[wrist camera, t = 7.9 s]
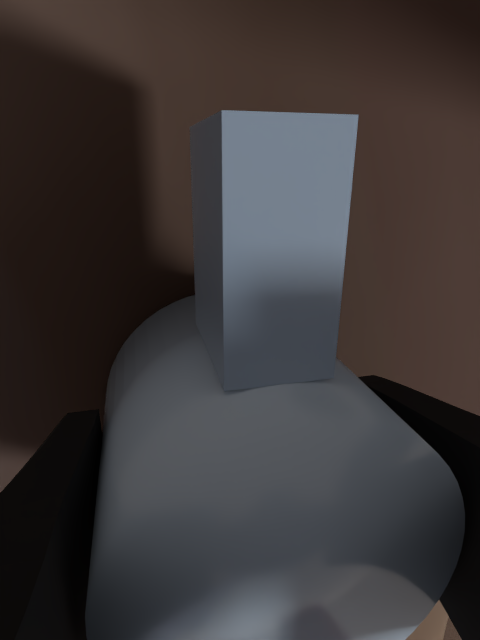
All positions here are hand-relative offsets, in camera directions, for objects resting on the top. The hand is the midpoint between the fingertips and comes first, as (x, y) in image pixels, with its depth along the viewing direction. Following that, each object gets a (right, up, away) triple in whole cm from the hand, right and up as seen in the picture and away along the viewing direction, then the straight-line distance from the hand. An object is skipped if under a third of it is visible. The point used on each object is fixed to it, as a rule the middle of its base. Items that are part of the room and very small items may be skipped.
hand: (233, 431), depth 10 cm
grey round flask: (0, +2, +1) cm, 2 cm away
